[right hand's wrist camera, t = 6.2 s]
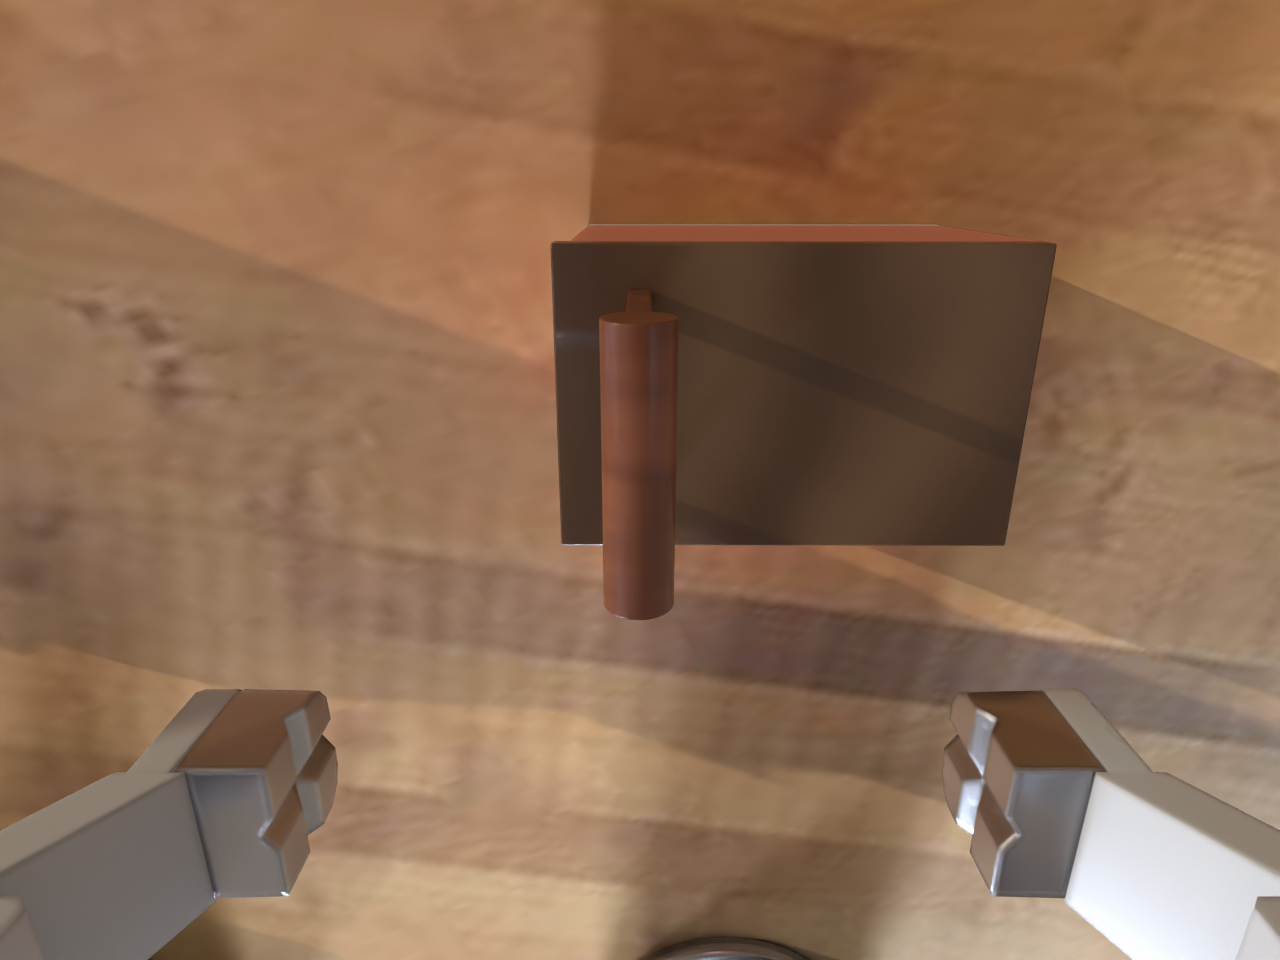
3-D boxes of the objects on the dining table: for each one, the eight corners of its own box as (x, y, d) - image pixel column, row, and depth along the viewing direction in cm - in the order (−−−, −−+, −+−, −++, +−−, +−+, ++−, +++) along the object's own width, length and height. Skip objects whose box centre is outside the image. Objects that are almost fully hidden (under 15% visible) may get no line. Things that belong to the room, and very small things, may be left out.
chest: (593, 447, 38) (577, 534, 28) (588, 224, 34) (569, 240, 25) (907, 447, 38) (993, 534, 28) (935, 224, 34) (1042, 240, 25)
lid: (563, 534, 28) (535, 661, 21) (553, 241, 25) (515, 267, 17) (993, 535, 28) (1120, 662, 21) (1043, 241, 25) (1216, 268, 17)
